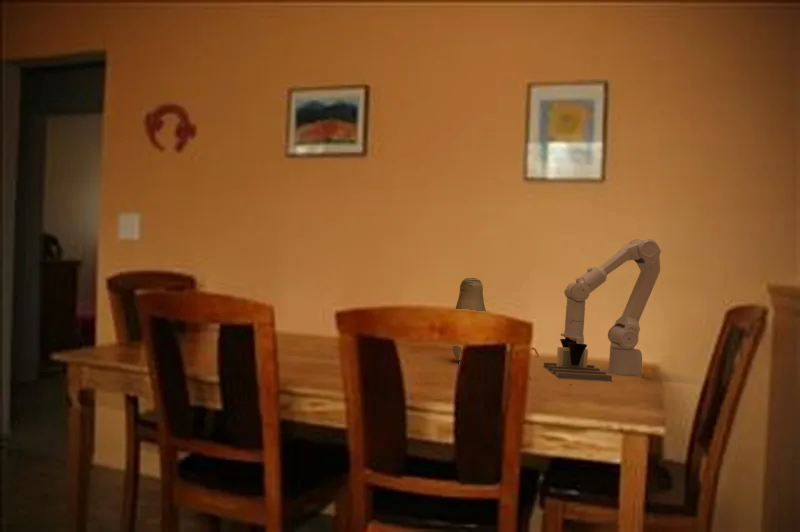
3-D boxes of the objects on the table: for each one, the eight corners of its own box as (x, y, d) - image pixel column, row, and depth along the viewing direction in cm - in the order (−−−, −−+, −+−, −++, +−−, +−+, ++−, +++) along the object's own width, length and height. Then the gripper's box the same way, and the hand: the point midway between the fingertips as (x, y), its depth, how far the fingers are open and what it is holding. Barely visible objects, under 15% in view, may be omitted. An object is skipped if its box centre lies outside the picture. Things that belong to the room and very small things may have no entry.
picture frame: (584, 370, 200) (585, 348, 200) (586, 371, 198) (588, 349, 197) (556, 368, 200) (557, 346, 200) (558, 370, 197) (559, 348, 197)
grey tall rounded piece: (463, 358, 214) (468, 276, 213) (488, 363, 207) (493, 279, 207) (445, 361, 207) (450, 276, 206) (471, 366, 200) (476, 279, 199)
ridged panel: (591, 371, 204) (591, 364, 204) (613, 385, 184) (613, 376, 184) (542, 369, 204) (542, 361, 203) (559, 382, 184) (559, 373, 183)
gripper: (555, 317, 206) (553, 358, 206) (568, 322, 191) (565, 366, 191) (577, 318, 206) (574, 359, 206) (591, 323, 191) (588, 368, 192)
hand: (571, 363), depth 199 cm, fingers open, 6 cm apart
